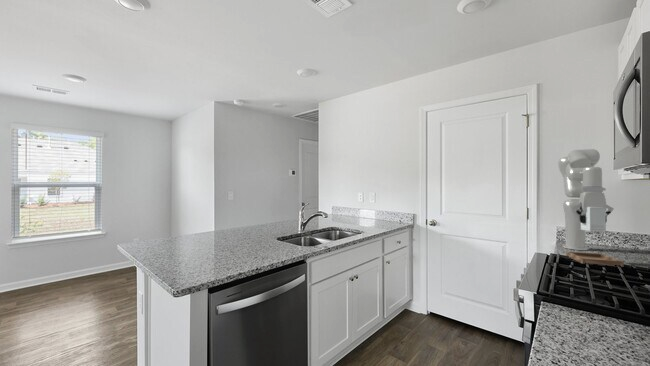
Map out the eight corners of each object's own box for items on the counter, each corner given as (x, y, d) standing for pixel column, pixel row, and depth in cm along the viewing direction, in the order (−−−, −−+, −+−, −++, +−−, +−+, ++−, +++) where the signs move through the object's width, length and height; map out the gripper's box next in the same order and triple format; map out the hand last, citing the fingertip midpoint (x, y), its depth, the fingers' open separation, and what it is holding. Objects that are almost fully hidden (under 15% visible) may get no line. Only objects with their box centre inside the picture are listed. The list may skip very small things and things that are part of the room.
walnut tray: (566, 256, 161) (566, 251, 161) (602, 258, 155) (602, 253, 155) (582, 263, 144) (582, 258, 144) (623, 266, 138) (623, 261, 138)
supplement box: (606, 232, 145) (606, 207, 146) (589, 231, 147) (589, 207, 147) (596, 230, 153) (595, 206, 153) (580, 229, 154) (579, 206, 155)
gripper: (609, 190, 151) (609, 223, 150) (568, 190, 157) (569, 221, 156) (618, 190, 144) (618, 224, 143) (575, 190, 150) (575, 223, 149)
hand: (592, 223), depth 150 cm, fingers closed on supplement box, 8 cm apart
